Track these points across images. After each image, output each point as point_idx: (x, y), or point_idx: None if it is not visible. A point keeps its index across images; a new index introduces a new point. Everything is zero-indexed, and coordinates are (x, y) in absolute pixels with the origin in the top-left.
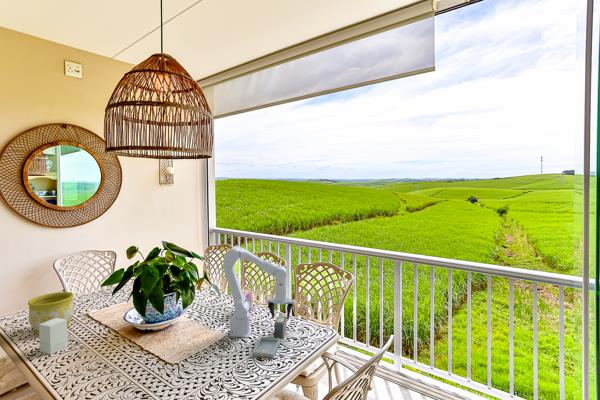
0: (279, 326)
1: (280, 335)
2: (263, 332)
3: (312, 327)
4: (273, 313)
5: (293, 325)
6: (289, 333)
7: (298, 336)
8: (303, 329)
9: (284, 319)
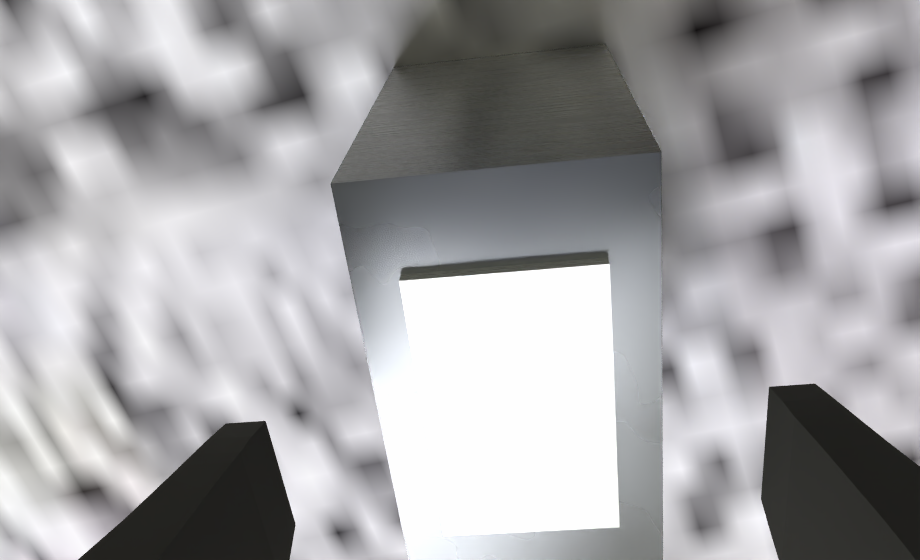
0: (470, 143)
1: (453, 76)
2: (910, 186)
3: (50, 548)
4: (832, 537)
5: (380, 545)
6: (340, 283)
7: (120, 219)
8: (157, 465)
9: (420, 473)
